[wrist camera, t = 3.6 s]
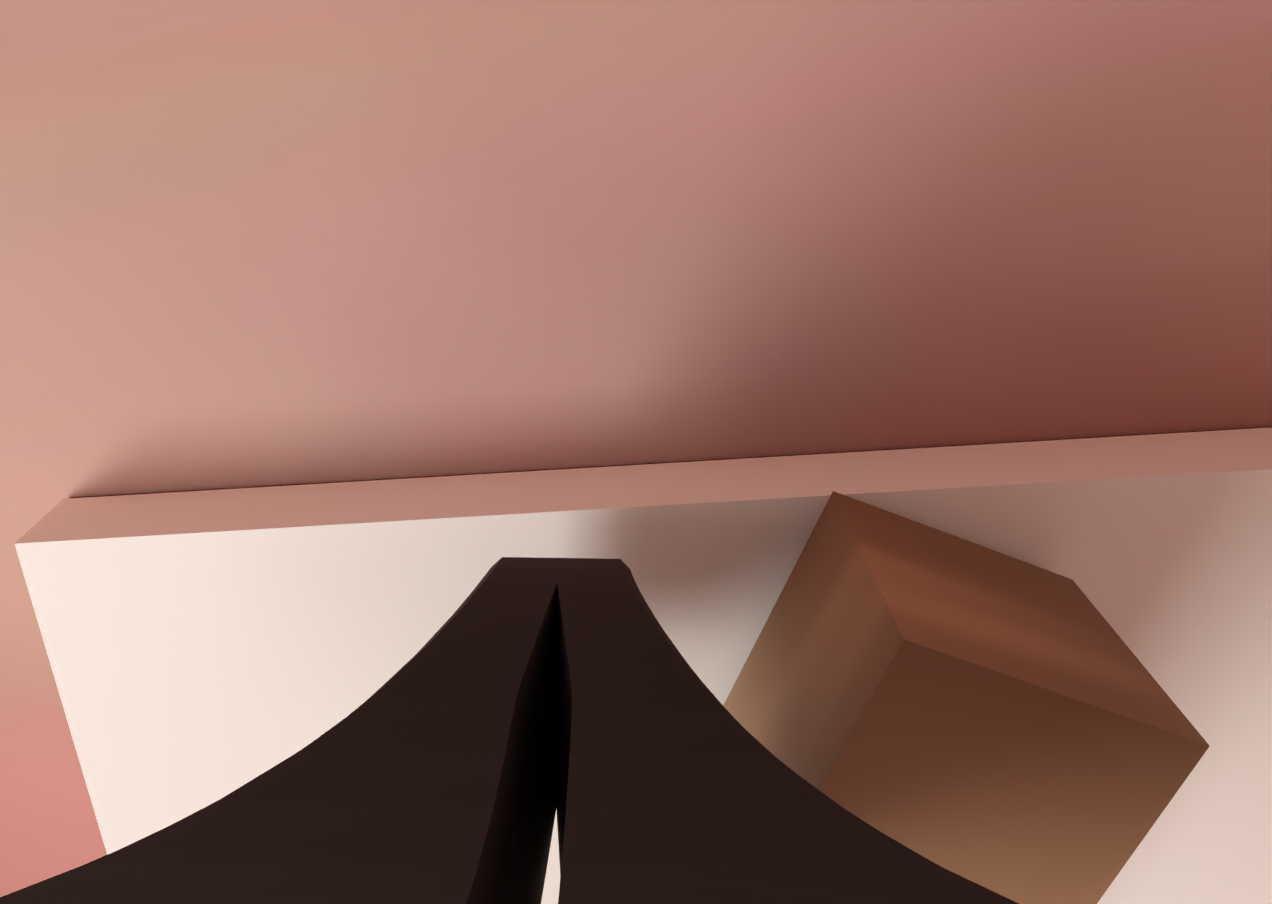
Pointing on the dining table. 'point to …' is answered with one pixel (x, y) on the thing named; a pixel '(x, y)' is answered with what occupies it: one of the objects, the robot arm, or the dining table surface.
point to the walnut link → (964, 706)
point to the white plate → (673, 589)
